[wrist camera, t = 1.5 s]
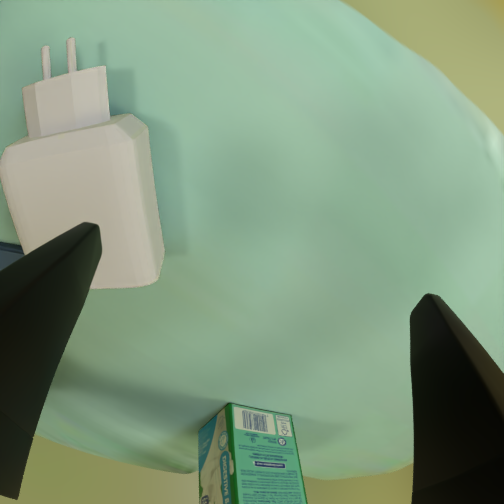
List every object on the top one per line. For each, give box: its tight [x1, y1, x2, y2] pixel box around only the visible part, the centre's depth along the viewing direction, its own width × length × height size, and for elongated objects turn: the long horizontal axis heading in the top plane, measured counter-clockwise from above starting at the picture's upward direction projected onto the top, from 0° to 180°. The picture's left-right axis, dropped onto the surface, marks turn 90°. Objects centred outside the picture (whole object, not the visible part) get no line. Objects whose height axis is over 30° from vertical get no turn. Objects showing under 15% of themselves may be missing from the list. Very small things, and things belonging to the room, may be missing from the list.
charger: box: [0, 38, 165, 289], centre depth 17 cm, size 5×9×15 cm
